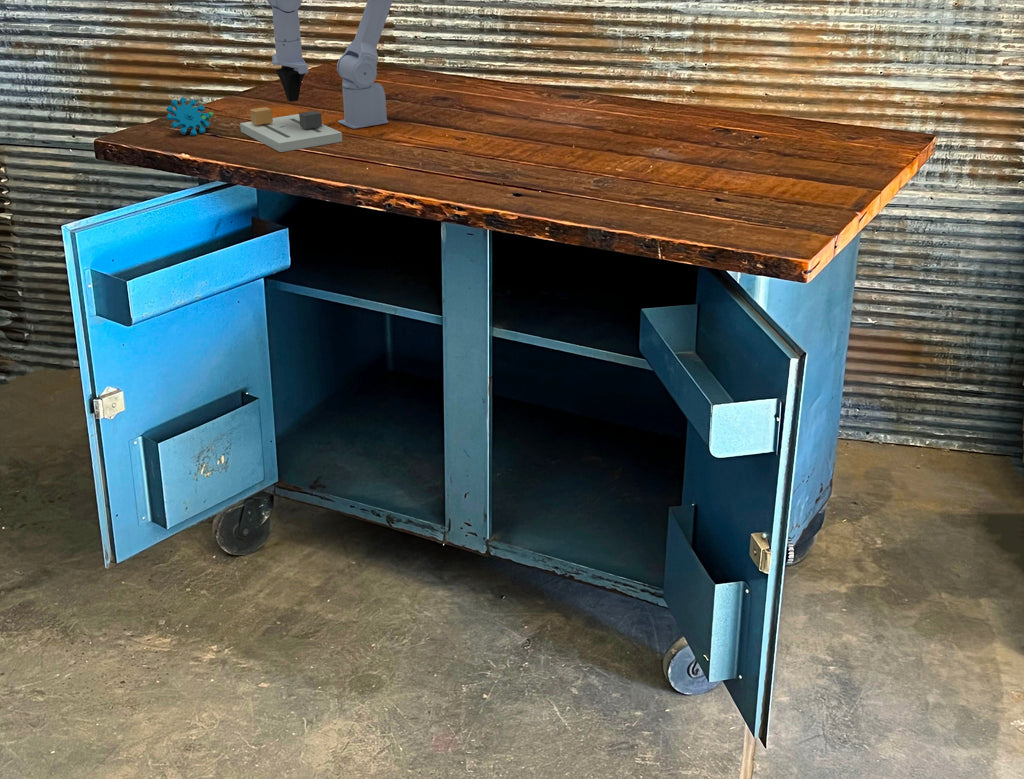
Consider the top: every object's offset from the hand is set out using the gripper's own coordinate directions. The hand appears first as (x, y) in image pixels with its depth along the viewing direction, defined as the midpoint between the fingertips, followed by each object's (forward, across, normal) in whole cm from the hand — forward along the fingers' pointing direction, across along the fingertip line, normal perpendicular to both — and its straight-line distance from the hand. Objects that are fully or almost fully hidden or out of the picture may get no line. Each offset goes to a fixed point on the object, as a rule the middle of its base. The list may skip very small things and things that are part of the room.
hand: (293, 100), depth 280 cm
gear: (+8, -16, -19) cm, 26 cm away
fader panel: (+8, +2, -2) cm, 8 cm away
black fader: (+5, +5, +1) cm, 8 cm away
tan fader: (+5, -5, -6) cm, 9 cm away
